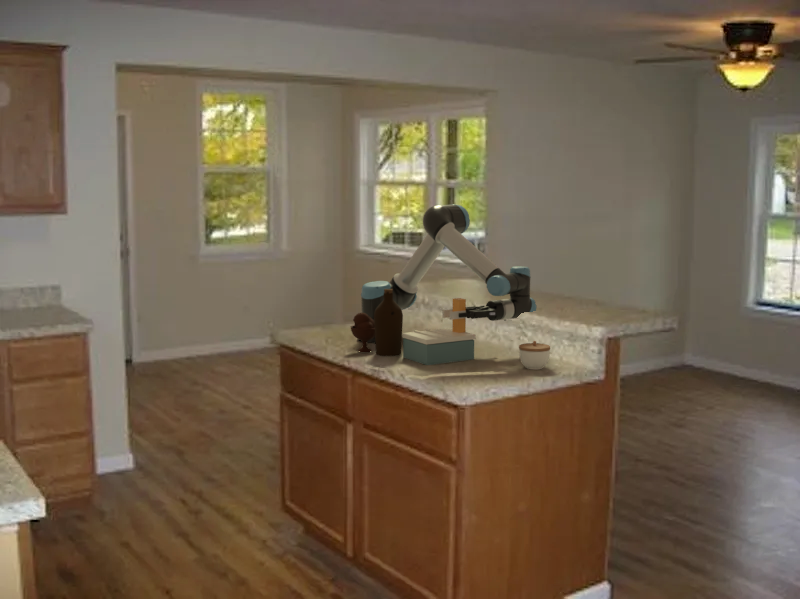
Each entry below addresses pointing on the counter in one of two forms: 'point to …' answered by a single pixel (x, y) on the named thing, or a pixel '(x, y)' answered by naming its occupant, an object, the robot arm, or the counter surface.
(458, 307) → the lid
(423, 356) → the tub
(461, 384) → the counter surface
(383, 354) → the olive oil
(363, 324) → the ice cream bowl
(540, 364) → the lidded jar
